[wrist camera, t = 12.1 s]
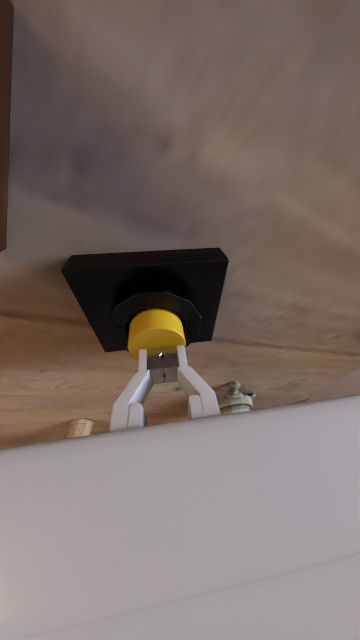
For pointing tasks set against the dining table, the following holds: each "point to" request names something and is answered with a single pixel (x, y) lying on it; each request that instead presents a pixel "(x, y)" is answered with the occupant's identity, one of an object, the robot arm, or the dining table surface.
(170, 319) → the button
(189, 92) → the dining table surface
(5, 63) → the control panel
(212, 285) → the button housing
